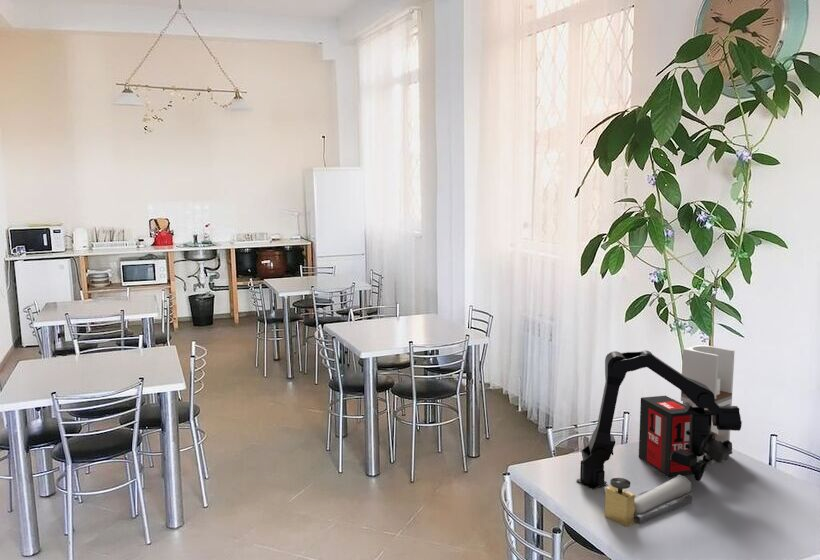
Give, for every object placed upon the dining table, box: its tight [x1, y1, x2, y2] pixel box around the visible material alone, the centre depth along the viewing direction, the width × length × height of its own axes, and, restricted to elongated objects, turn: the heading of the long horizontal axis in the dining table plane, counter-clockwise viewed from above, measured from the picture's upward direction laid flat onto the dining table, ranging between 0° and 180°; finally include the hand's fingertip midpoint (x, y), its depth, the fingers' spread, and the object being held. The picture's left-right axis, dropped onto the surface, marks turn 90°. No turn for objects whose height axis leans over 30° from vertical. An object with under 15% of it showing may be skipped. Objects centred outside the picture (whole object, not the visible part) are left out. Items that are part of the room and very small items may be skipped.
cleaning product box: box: [638, 395, 693, 479], centre depth 218 cm, size 16×9×20 cm, turn 13°
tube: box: [634, 475, 692, 518], centre depth 192 cm, size 5×5×25 cm
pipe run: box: [604, 477, 693, 527], centre depth 189 cm, size 9×27×11 cm, turn 123°
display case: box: [680, 344, 735, 465], centre depth 226 cm, size 11×11×35 cm
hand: (697, 480), depth 202 cm, fingers closed
